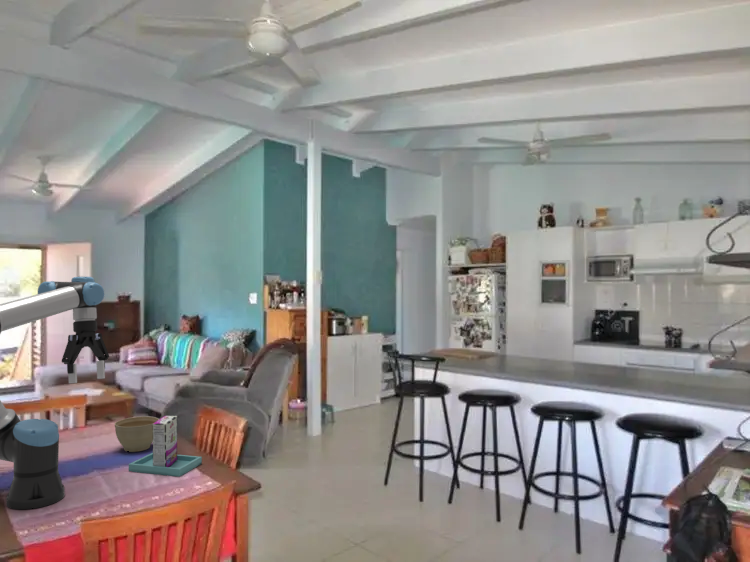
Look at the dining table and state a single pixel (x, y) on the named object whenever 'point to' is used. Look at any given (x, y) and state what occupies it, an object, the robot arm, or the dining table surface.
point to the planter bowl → (135, 433)
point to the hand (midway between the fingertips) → (87, 380)
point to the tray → (176, 469)
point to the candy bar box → (165, 441)
